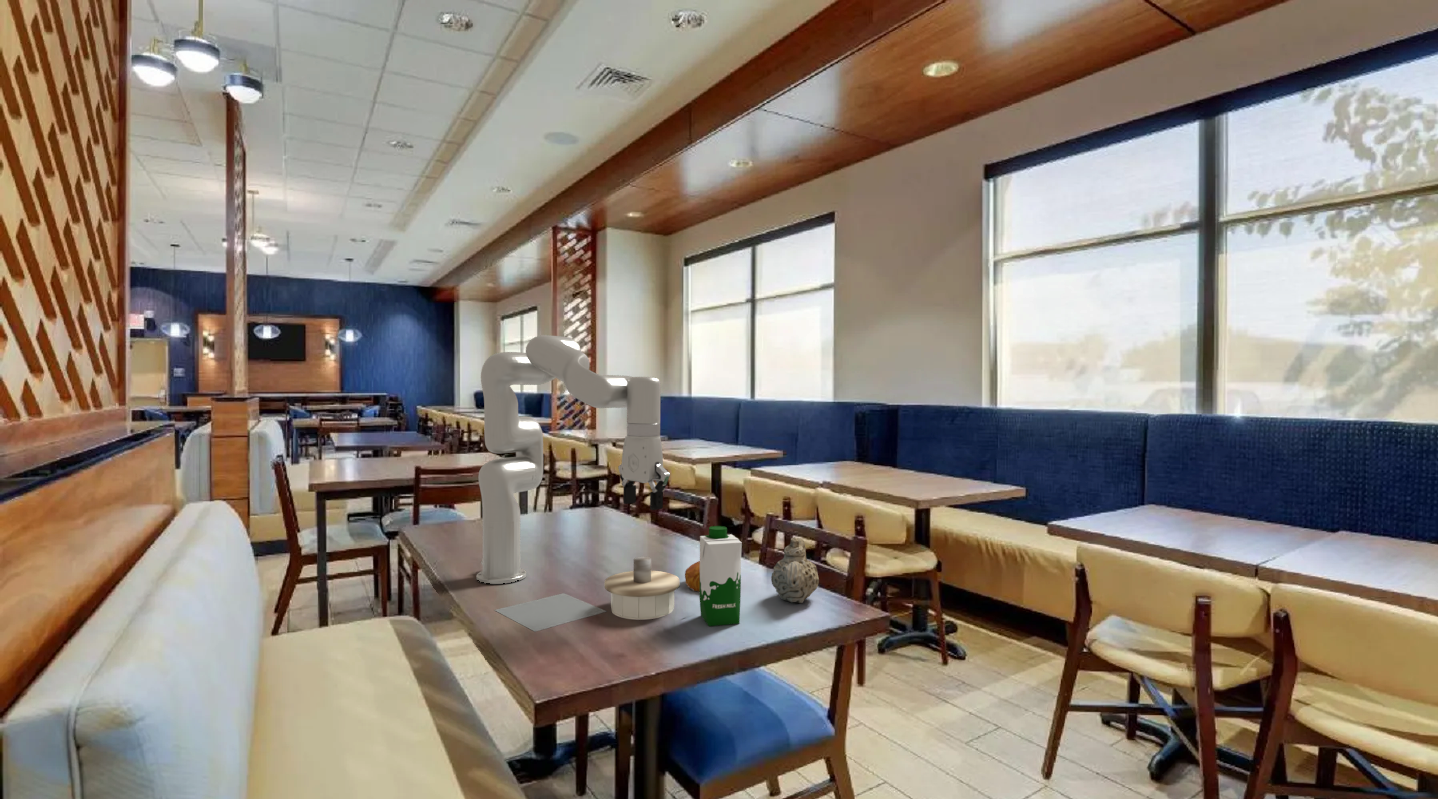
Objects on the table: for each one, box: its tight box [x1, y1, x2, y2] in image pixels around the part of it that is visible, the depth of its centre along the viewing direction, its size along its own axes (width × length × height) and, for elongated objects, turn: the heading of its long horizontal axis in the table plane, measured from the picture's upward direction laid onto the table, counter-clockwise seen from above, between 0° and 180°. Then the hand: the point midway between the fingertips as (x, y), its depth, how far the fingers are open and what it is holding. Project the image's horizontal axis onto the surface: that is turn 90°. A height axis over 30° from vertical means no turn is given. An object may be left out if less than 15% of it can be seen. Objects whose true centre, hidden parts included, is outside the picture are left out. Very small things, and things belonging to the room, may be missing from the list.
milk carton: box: [698, 525, 743, 627], centre depth 150 cm, size 9×9×20 cm
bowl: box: [610, 591, 675, 621], centre depth 155 cm, size 14×14×6 cm
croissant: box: [684, 560, 700, 593], centre depth 176 cm, size 14×16×8 cm
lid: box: [604, 556, 680, 597], centre depth 155 cm, size 17×17×6 cm
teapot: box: [770, 536, 820, 604], centre depth 165 cm, size 21×12×15 cm, turn 168°
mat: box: [494, 592, 608, 633], centre depth 154 cm, size 18×18×1 cm
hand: (642, 506), depth 155 cm, fingers open, 9 cm apart
